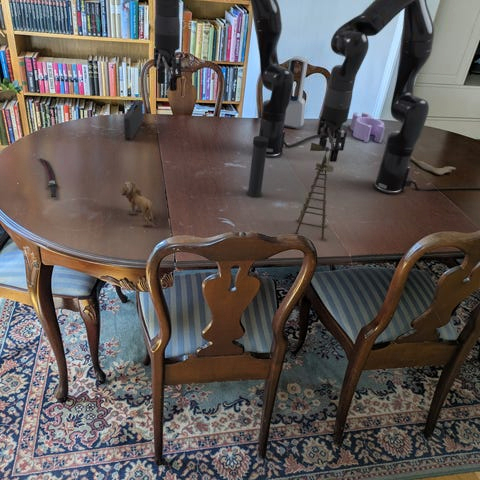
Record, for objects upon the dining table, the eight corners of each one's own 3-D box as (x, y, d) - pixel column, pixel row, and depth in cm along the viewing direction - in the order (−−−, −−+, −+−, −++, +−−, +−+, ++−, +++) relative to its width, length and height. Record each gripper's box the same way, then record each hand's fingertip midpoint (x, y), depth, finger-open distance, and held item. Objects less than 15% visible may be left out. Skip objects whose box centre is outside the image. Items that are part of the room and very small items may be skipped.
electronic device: (303, 125, 218) (315, 58, 202) (300, 130, 212) (311, 61, 196) (278, 120, 221) (287, 54, 205) (273, 125, 215) (283, 56, 199)
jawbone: (446, 180, 181) (448, 175, 179) (397, 163, 191) (398, 159, 190) (455, 172, 186) (456, 167, 185) (406, 156, 197) (407, 152, 195)
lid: (259, 148, 143) (260, 142, 142) (249, 143, 146) (250, 137, 145) (270, 145, 145) (271, 139, 144) (261, 140, 148) (261, 134, 147)
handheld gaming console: (136, 121, 202) (136, 98, 197) (143, 121, 202) (142, 98, 197) (123, 140, 183) (122, 115, 178) (130, 141, 183) (130, 116, 178)
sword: (61, 197, 141) (61, 193, 140) (50, 198, 139) (50, 194, 139) (49, 160, 164) (48, 156, 163) (39, 160, 163) (39, 157, 162)
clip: (343, 126, 223) (346, 112, 219) (367, 127, 225) (371, 113, 221) (360, 142, 206) (364, 127, 202) (386, 142, 209) (390, 127, 205)
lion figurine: (118, 210, 138) (116, 182, 133) (132, 204, 141) (131, 177, 137) (151, 229, 130) (150, 201, 126) (165, 223, 134) (165, 195, 129)
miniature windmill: (323, 240, 134) (345, 141, 118) (294, 234, 135) (312, 135, 119) (324, 224, 142) (346, 129, 126) (297, 219, 143) (314, 124, 127)
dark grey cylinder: (253, 198, 152) (260, 143, 142) (245, 193, 155) (251, 138, 145) (263, 195, 155) (270, 141, 145) (255, 190, 158) (261, 136, 147)
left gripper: (189, 36, 136) (188, 92, 145) (167, 27, 145) (167, 80, 154) (166, 36, 132) (166, 94, 141) (145, 27, 142) (146, 81, 150)
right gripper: (360, 111, 131) (347, 165, 140) (338, 96, 142) (328, 146, 151) (335, 111, 129) (324, 165, 138) (316, 96, 140) (307, 147, 149)
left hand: (166, 86), depth 148 cm, fingers open, 8 cm apart
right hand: (326, 155), depth 144 cm, fingers open, 8 cm apart
